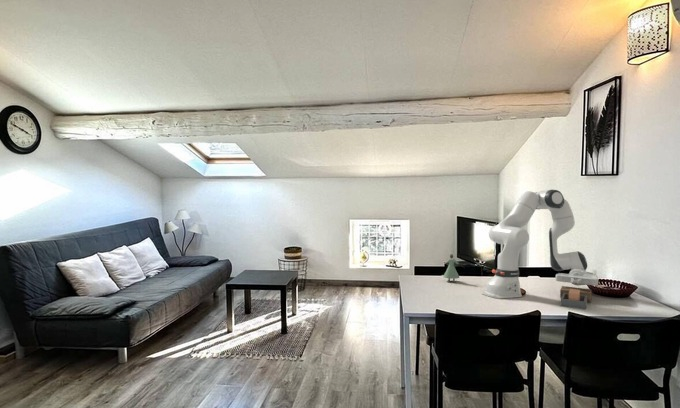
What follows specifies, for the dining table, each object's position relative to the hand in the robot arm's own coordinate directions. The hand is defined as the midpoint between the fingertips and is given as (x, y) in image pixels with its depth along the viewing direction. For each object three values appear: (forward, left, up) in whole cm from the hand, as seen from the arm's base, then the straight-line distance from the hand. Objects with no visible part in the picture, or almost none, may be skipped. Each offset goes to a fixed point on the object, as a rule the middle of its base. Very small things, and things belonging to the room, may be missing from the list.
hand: (575, 281), depth 209 cm
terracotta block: (-3, -1, -6) cm, 7 cm away
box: (-7, -4, -10) cm, 13 cm away
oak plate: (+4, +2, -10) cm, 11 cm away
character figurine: (-29, +63, -10) cm, 70 cm away
